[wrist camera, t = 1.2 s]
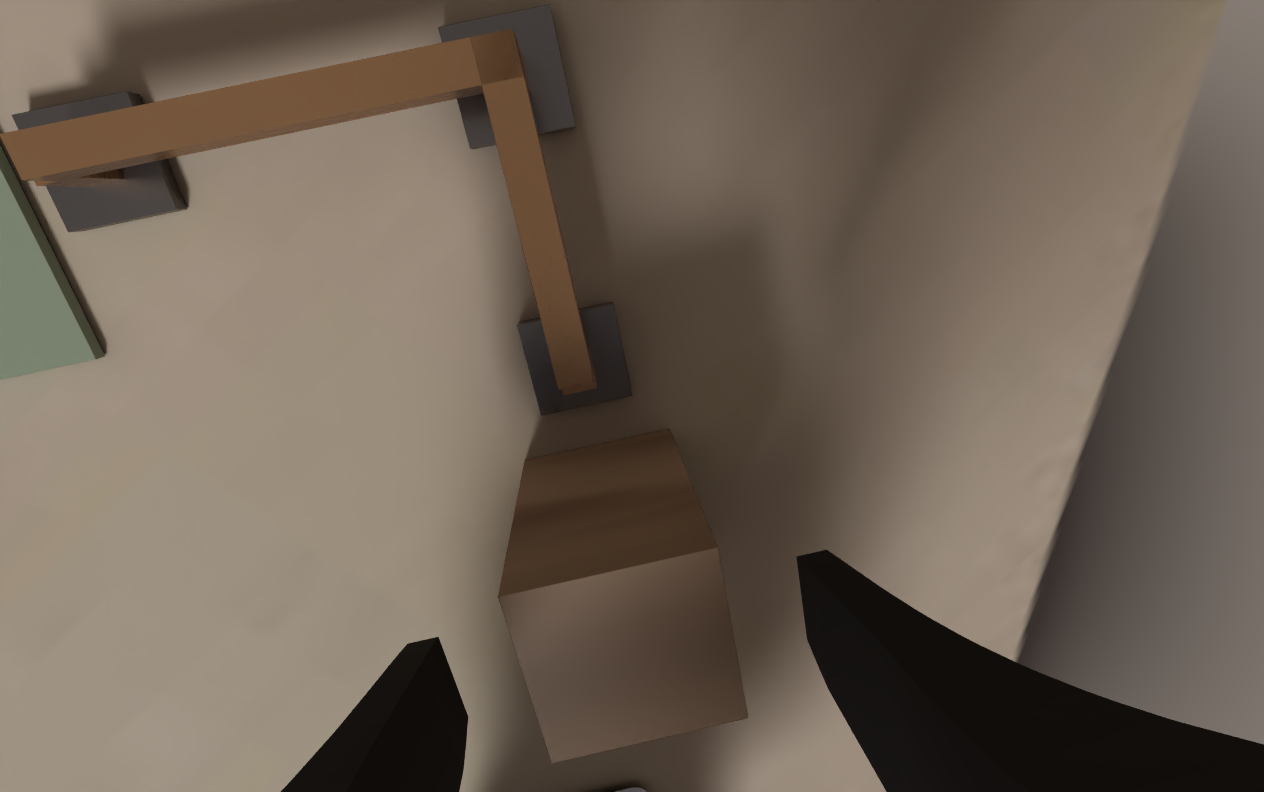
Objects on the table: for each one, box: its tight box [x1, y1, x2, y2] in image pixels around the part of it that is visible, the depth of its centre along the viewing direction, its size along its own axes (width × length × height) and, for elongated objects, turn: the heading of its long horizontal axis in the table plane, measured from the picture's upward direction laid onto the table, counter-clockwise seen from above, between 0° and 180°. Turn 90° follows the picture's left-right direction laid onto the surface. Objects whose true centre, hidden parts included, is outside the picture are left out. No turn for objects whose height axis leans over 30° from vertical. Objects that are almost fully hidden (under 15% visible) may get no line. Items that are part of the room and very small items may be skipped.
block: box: [498, 429, 748, 763], centre depth 14 cm, size 4×4×6 cm
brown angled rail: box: [0, 5, 632, 415], centre depth 13 cm, size 9×11×2 cm
